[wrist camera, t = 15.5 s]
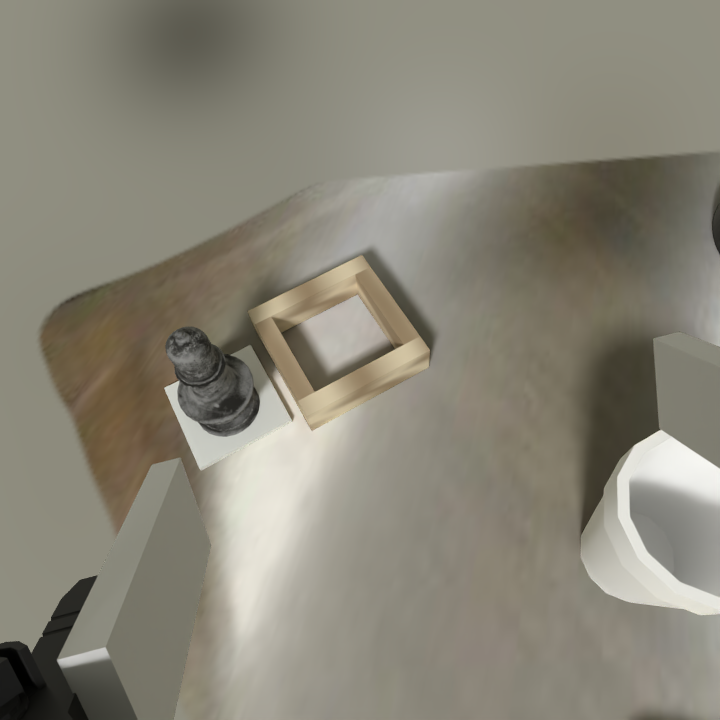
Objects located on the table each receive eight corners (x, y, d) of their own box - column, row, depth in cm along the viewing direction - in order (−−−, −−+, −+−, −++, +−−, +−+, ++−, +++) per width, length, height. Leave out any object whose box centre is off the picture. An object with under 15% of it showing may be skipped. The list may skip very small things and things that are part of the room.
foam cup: (595, 463, 44) (662, 393, 33) (717, 536, 41) (839, 486, 30) (534, 571, 41) (585, 535, 30) (662, 658, 38) (774, 656, 27)
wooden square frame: (363, 275, 54) (361, 254, 51) (428, 367, 49) (430, 350, 46) (255, 329, 52) (247, 311, 49) (311, 430, 47) (306, 416, 44)
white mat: (251, 347, 51) (250, 344, 50) (292, 421, 48) (291, 419, 47) (166, 390, 50) (164, 388, 49) (201, 470, 46) (199, 468, 46)
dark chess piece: (205, 368, 50) (151, 287, 39) (271, 379, 49) (235, 299, 38) (181, 433, 47) (117, 365, 36) (251, 446, 46) (206, 380, 36)
